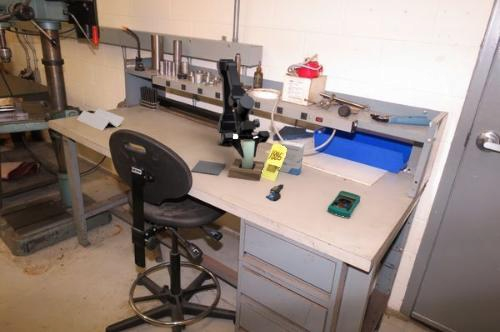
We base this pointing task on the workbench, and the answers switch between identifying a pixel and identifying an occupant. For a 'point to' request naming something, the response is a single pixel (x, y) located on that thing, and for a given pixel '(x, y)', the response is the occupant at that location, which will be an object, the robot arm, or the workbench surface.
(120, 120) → the z bracket
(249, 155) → the pin
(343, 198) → the digital multimeter
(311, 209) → the workbench surface
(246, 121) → the robot arm
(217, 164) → the mat
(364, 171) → the workbench surface
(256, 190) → the workbench surface
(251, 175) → the socket block
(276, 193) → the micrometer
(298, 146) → the ink box
